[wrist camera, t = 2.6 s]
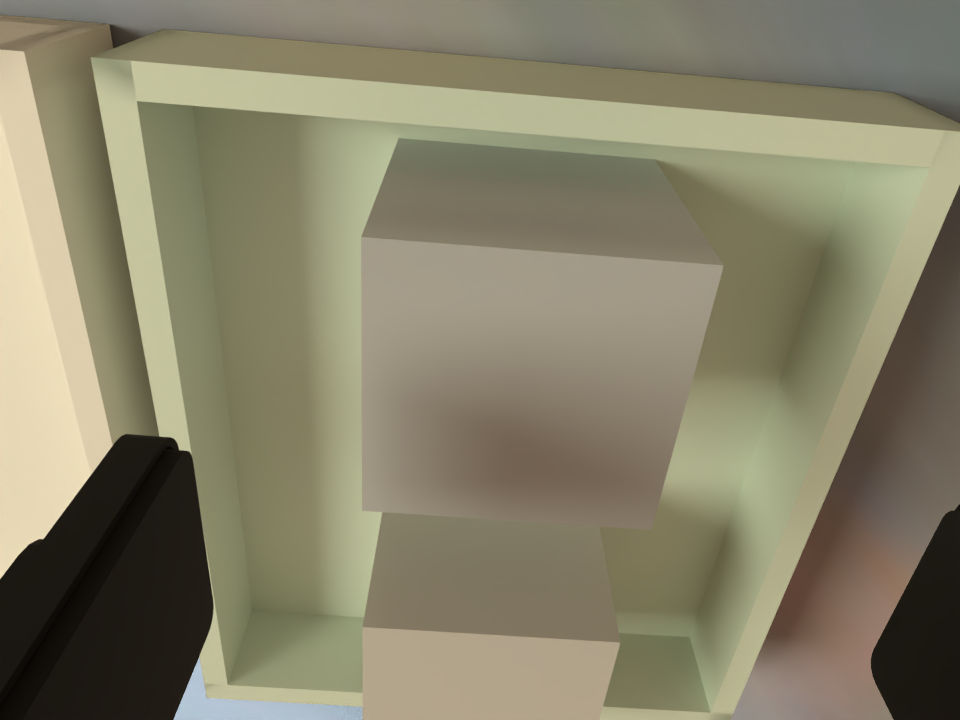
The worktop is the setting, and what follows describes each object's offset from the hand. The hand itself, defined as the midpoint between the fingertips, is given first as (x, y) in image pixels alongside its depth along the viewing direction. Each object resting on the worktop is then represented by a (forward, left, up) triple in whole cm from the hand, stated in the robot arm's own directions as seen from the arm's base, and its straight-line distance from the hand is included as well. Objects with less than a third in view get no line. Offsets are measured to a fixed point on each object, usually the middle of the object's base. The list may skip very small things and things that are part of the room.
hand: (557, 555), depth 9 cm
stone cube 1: (-1, 0, -8) cm, 8 cm away
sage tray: (+3, 0, -8) cm, 9 cm away
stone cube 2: (+7, 0, -8) cm, 11 cm away
